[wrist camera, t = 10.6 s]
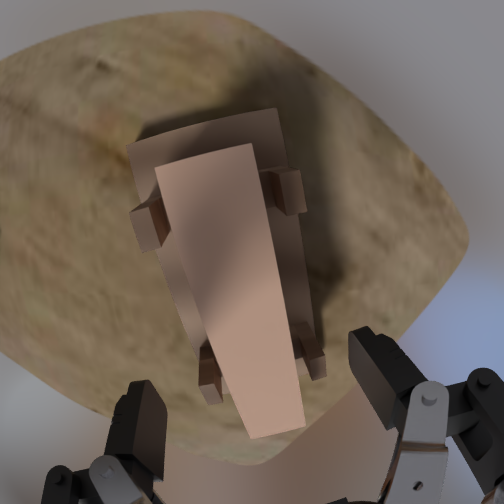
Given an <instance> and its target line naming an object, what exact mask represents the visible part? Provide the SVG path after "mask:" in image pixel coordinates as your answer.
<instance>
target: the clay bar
mask: <svg viewBox="0 0 504 504" xmlns="http://www.w3.org/2000/svg"><path fill="white" fill-rule="evenodd" d="M155 172H156V176H157V180H158V183H159V187H160V191H161V195H162V198H163V202H164V205H165V209H166V212H167V216H168V219H169V223H170V226H171V229H172V233H173V236H174V239H175V243H176V246H177V249H178V252H179V255H180V259H181V262H182V265H183V268H184V271H185V274H186V277H187V280H188V283H189V286H190V289H191V292H192V295H193V297H194V300H195V303H196V306H197V309H198V311H199V314H200V317H201V320H202V322H203V325H204V328H205V331H206V333H207V336H208V339H209V341H210V344H211V346H212V349H213V351H214V354H215V357H216V359H217V362H218V364H219V367H220V369H221V372H222V374H223V376H224V379H225V381H226V384H227V386H228V388H229V391H230V393H231V395H232V398H233V400H234V402H235V405H236V407H237V409H238V411H239V414H240V416H241V418H242V420H243V423H244V425H245V427H246V429H247V431H248V433H249V436H250V438H251V439H255V438H259V437H264V436H269V435H273V434H277V433H281V432H285V431H289V430H293V429H297V428H300V427H304V426H306V424H305V418H304V412H303V405H302V399H301V393H300V387H299V381H298V376H297V370H296V364H295V358H294V353H293V347H292V341H291V336H290V330H289V325H288V319H287V314H286V309H285V303H284V298H283V293H282V287H281V282H280V277H279V272H278V267H277V262H276V257H275V252H274V247H273V242H272V237H271V232H270V227H269V222H268V217H267V212H266V207H265V203H264V198H263V193H262V188H261V184H260V179H259V174H258V170H257V165H256V161H255V156H254V151H253V147H252V143H249V144H244V145H239V146H235V147H230V148H226V149H222V150H218V151H214V152H209V153H205V154H202V155H198V156H194V157H190V158H186V159H183V160H179V161H176V162H172V163H169V164H165V165H162V166H159V167H155Z"/></svg>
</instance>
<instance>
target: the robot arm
mask: <svg viewBox="0 0 504 504" xmlns="http://www.w3.org/2000/svg"><path fill="white" fill-rule="evenodd" d="M348 345H349V365H350V368H351V371H352V373H353V374H354V376H355V378H356V379H357V381H358V383H359V384H360V386H361V388H362V389H363V391H364V393H365V394H366V396H367V398H368V400H369V401H370V403H371V405H372V406H373V408H374V410H375V411H376V413H377V415H378V417H379V418H380V420H381V422H382V423H383V425H384V427H385V429H386V430H389V429H391V428H393V427H396V429H397V430H398V432H399V433H398V436H397V441H396V444H395V449H394V452H393V456H392V459H391V463H390V466H389V470H388V473H387V476H386V478H385V481H384V483H383V486H382V488H381V491H380V494H379V497H378V499H377V502H371V501H353V502H348V501H347V498H346V497H345V498H342V499H340V500H337V501H334V502H331V503H327V504H439V500H440V496H441V492H442V487H443V483H444V477H445V472H446V467H447V461H448V447H446V446H445V438H446V437H448V436H452V438H453V440H454V442H455V443H456V445H457V446H458V448H459V450H460V451H461V453H462V455H463V457H464V458H465V460H466V462H467V464H468V465H469V467H470V469H471V471H472V472H473V474H474V476H475V478H476V479H477V481H478V483H479V485H480V487H481V489H482V491H483V493H484V495H485V497H484V498H483V500H482V502H481V504H504V382H503V381H502V380H501V378H500V377H499V376H498V375H497V374H496V373H495V372H494V371H493V370H491V369H488V368H478V369H475V370H474V371H472V372H471V373H470V375H469V377H468V379H467V381H465V382H461V383H457V384H453V385H450V386H444V385H443V384H441V383H439V382H436V381H428V380H427V379H426V378H425V377H424V375H423V374H422V373H421V372H420V371H419V369H418V368H417V367H416V366H415V364H414V363H413V362H412V361H411V360H410V358H409V357H408V356H407V355H405V353H404V352H403V350H402V349H400V347H399V346H398V345H397V343H396V342H395V341H394V340H393V339H392V338H390V337H388V336H386V335H384V334H379V335H375V334H374V333H373V331H372V330H371V329H370V328H369V327H368V326H364V327H362V328H359V329H356V330H353V331H350V332H349V334H348ZM113 415H114V417H113V418H112V422H111V423H112V425H111V426H110V430H109V434H108V439H107V443H106V447H105V452H104V455H103V456H100V457H98V458H96V459H95V460H94V461H93V462H92V464H91V466H90V468H89V469H84V470H80V471H75V472H72V471H71V470H69V469H68V468H67V467H66V466H62V465H58V466H55V467H53V468H52V469H51V470H50V471H49V472H48V474H47V476H46V481H45V485H44V490H43V495H42V501H41V504H166V503H165V502H164V501H163V500H162V498H161V497H160V496H159V495H158V494H157V493H156V491H155V490H154V489H153V482H160V481H162V482H163V477H164V457H165V442H166V429H167V409H166V406H165V403H164V402H163V400H162V399H161V397H160V396H159V394H158V392H157V391H156V389H155V388H154V386H153V384H152V383H151V382H150V381H149V380H142V381H134V382H131V383H130V384H129V388H128V392H127V395H122V397H121V398H120V399H119V401H118V402H117V404H116V406H115V410H114V414H113Z"/></svg>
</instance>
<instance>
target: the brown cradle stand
mask: <svg viewBox="0 0 504 504" xmlns="http://www.w3.org/2000/svg"><path fill="white" fill-rule="evenodd" d="M249 143H252V147H253V151H254V156H255V161H256V165H257V170H258V174H259V179H260V184H261V188H262V193H263V198H264V203H265V207H266V212H267V217H268V222H269V227H270V232H271V237H272V242H273V247H274V252H275V257H276V262H277V267H278V272H279V277H280V282H281V287H282V293H283V298H284V303H285V309H286V314H287V319H288V325H289V330H290V336H291V341H292V347H293V353H294V358H295V364H296V370H297V376H302V375H305V374H308V373H309V374H310V377H311V379H312V381H314V380H317V379H320V378H323V377H326V376H327V374H326V361H325V354H324V352H323V351H322V349H321V347H320V345H319V343H318V341H317V339H316V336H315V327H314V319H313V311H312V303H311V295H310V288H309V281H308V274H307V267H306V260H305V254H304V247H303V241H302V235H301V229H300V223H299V217H298V214H300V213H304V212H307V207H306V201H305V195H304V189H303V184H302V178H301V173H300V170H298V169H294V168H289V163H288V158H287V153H286V149H285V144H284V139H283V134H282V130H281V125H280V121H279V116H278V112H277V107H276V108H270V109H264V110H258V111H253V112H247V113H242V114H237V115H232V116H228V117H223V118H219V119H214V120H210V121H206V122H202V123H198V124H194V125H190V126H186V127H183V128H179V129H176V130H172V131H169V132H165V133H162V134H159V135H156V136H152V137H149V138H146V139H143V140H140V141H137V142H134V143H131V144H129V145H126V148H127V152H128V156H129V160H130V164H131V168H132V172H133V176H134V180H135V183H136V187H137V191H138V194H139V198H140V201H141V204H140V205H139V206H138V207H136V208H135V209H133V210H132V211H131V212H129V215H130V218H131V221H132V224H133V228H134V231H135V234H136V237H137V240H138V243H139V246H140V249H141V252H142V253H143V252H147V251H151V250H156V253H157V256H158V259H159V261H160V264H161V267H162V270H163V273H164V276H165V278H166V281H167V284H168V287H169V289H170V292H171V295H172V297H173V300H174V303H175V305H176V308H177V310H178V313H179V315H180V318H181V320H182V323H183V325H184V328H185V330H186V333H187V335H188V337H189V340H190V342H191V345H192V347H193V349H194V352H195V354H196V356H197V358H198V361H199V388H200V390H201V392H202V394H203V396H204V398H205V400H206V402H207V404H208V405H213V404H218V403H223V397H222V394H227V393H230V391H229V388H228V386H227V384H226V381H225V379H224V376H223V374H222V372H221V369H220V367H219V364H218V362H217V359H216V357H215V354H214V351H213V349H212V346H211V344H210V341H209V339H208V336H207V333H206V331H205V328H204V325H203V322H202V320H201V317H200V314H199V311H198V309H197V306H196V303H195V300H194V297H193V295H192V292H191V289H190V286H189V283H188V280H187V277H186V274H185V271H184V268H183V265H182V262H181V259H180V255H179V252H178V249H177V246H176V243H175V239H174V236H173V233H172V229H171V226H170V223H169V219H168V216H167V212H166V209H165V205H164V202H163V198H162V195H161V191H160V187H159V183H158V180H157V176H156V172H155V167H159V166H162V165H165V164H169V163H172V162H176V161H179V160H183V159H186V158H190V157H194V156H198V155H202V154H205V153H209V152H214V151H218V150H222V149H226V148H230V147H235V146H239V145H244V144H249Z"/></svg>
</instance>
